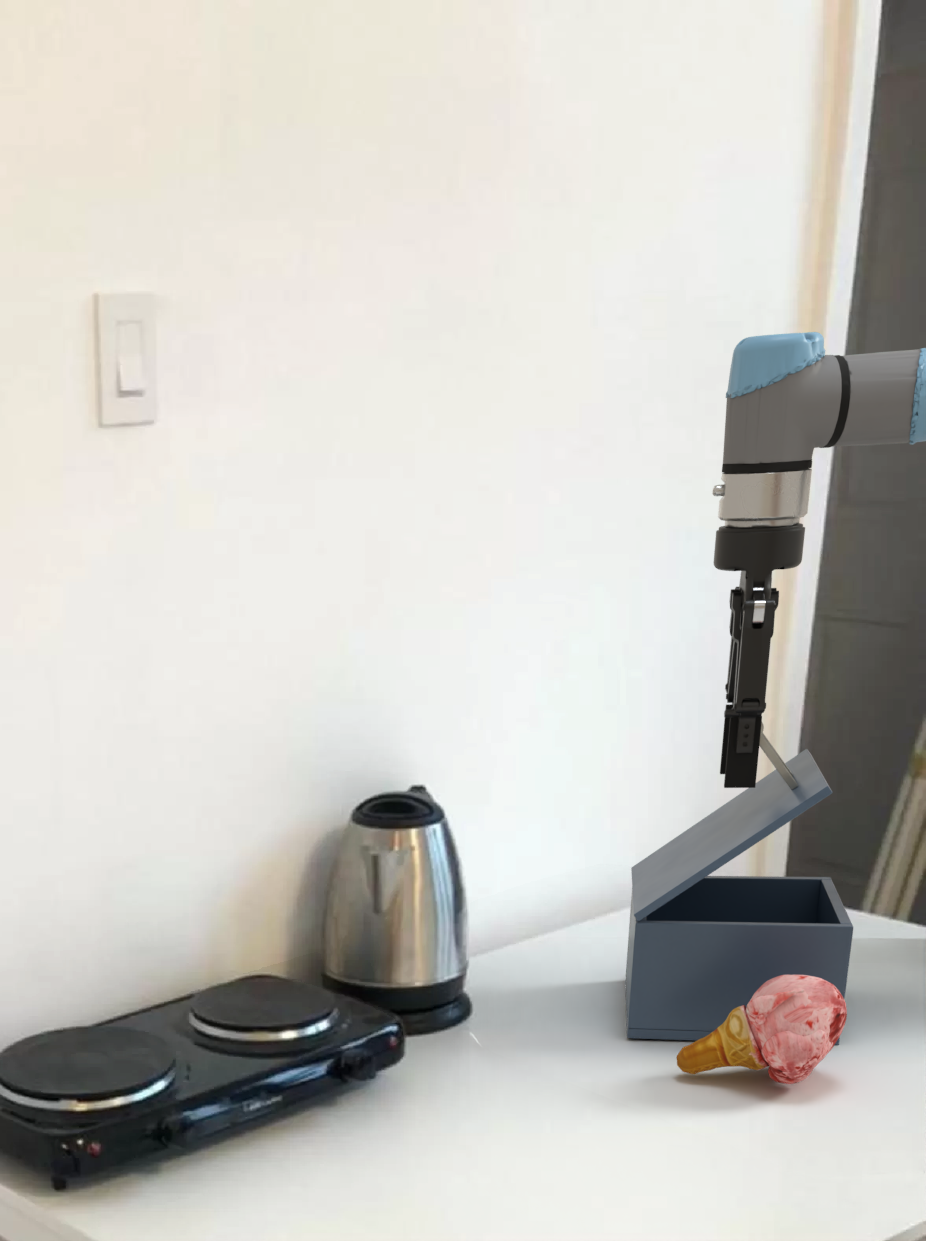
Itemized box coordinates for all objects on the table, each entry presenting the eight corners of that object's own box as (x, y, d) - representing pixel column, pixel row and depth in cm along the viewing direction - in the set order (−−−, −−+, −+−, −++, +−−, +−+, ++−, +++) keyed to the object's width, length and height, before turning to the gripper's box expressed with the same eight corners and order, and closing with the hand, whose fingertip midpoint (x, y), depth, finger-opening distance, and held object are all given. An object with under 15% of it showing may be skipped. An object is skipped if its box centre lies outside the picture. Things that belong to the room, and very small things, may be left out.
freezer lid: (811, 754, 175) (760, 683, 174) (832, 792, 159) (776, 714, 158) (635, 873, 185) (585, 806, 183) (638, 921, 168) (583, 848, 167)
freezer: (817, 986, 184) (830, 876, 179) (838, 1045, 167) (853, 926, 163) (625, 981, 189) (632, 874, 185) (626, 1038, 172) (635, 922, 168)
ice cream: (674, 1087, 156) (849, 1023, 150) (648, 1000, 162) (817, 934, 155) (710, 1142, 164) (879, 1083, 157) (685, 1057, 169) (847, 997, 163)
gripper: (711, 517, 170) (691, 762, 179) (722, 531, 153) (700, 800, 162) (795, 513, 168) (771, 761, 177) (816, 527, 151) (788, 800, 160)
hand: (737, 779), depth 169 cm, fingers closed on freezer lid, 6 cm apart
